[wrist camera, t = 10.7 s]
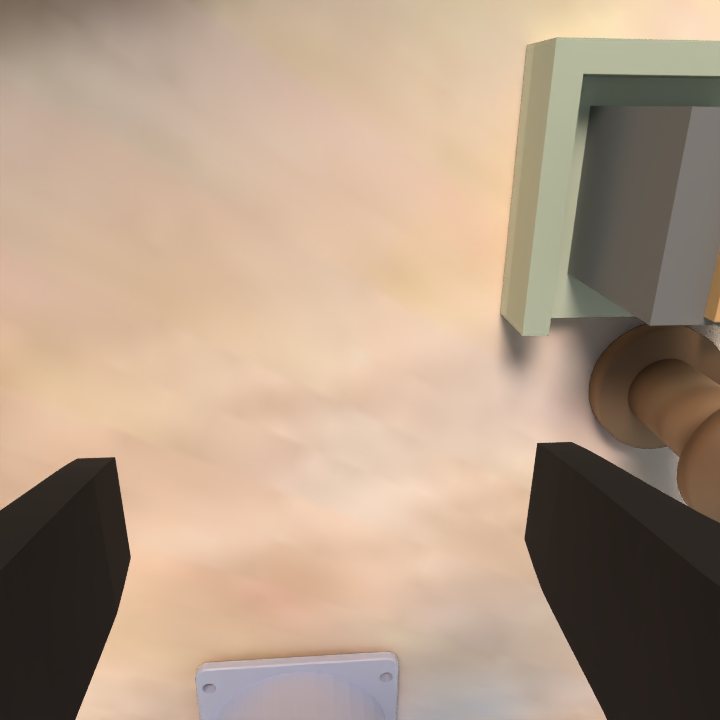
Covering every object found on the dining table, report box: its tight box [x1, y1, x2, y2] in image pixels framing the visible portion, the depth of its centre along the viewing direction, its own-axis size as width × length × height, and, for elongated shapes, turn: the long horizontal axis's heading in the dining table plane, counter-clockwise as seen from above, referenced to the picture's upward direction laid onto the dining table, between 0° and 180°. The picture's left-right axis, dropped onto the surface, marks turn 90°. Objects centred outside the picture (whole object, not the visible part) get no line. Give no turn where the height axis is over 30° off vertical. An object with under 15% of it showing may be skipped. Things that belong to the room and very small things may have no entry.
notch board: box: [500, 37, 720, 336], centre depth 18 cm, size 8×7×2 cm
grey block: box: [567, 106, 720, 326], centre depth 16 cm, size 5×4×5 cm
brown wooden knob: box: [589, 324, 720, 523], centre depth 19 cm, size 4×4×6 cm
